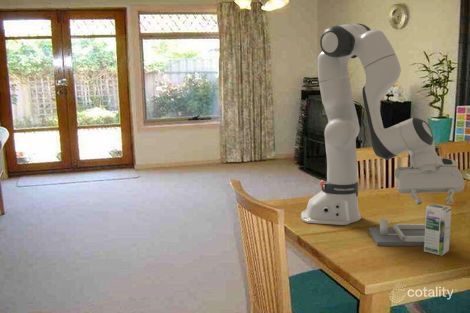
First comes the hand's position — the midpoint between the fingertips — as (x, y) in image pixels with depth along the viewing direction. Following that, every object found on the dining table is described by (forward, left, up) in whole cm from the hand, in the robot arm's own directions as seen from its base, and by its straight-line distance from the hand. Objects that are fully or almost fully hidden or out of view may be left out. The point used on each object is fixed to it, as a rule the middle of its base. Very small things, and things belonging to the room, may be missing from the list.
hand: (434, 203), depth 146 cm
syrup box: (0, -5, -14) cm, 15 cm away
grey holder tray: (-7, +7, -14) cm, 17 cm away
